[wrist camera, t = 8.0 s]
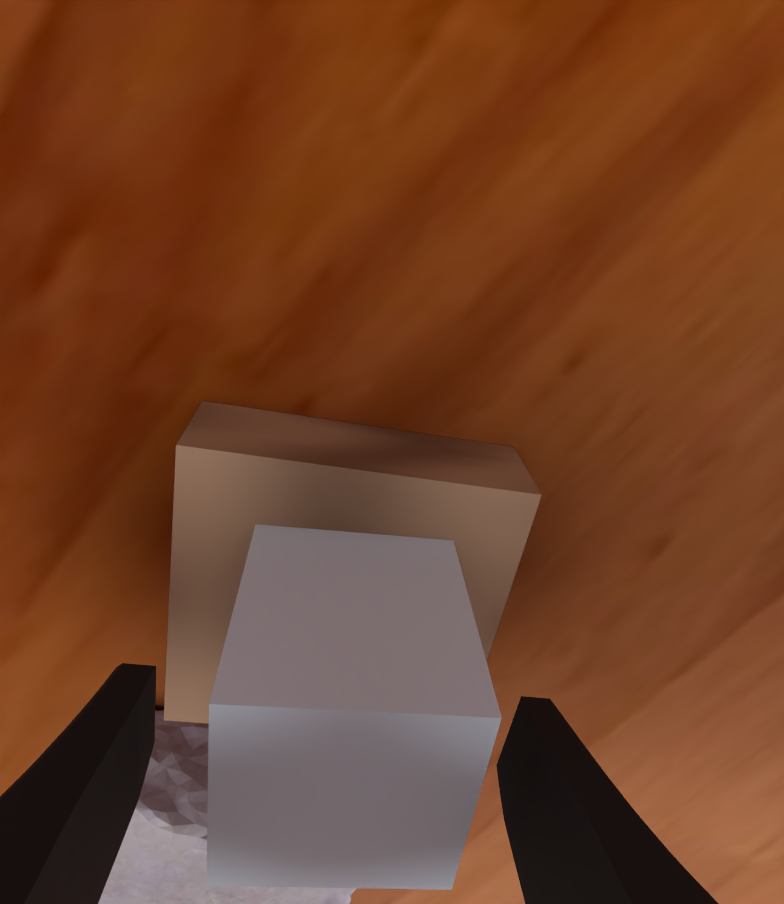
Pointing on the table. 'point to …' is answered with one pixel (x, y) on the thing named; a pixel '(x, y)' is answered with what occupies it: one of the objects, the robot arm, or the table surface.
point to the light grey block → (347, 715)
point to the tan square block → (326, 516)
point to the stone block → (183, 834)
